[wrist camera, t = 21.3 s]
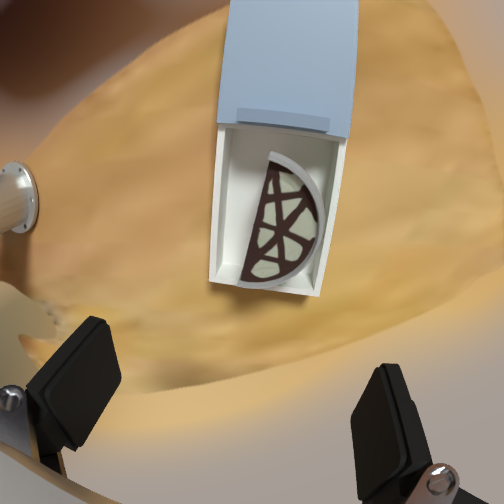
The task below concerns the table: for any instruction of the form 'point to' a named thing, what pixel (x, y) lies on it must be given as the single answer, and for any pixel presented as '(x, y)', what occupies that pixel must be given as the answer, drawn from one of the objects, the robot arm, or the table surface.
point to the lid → (290, 65)
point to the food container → (283, 226)
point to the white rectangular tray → (250, 188)
